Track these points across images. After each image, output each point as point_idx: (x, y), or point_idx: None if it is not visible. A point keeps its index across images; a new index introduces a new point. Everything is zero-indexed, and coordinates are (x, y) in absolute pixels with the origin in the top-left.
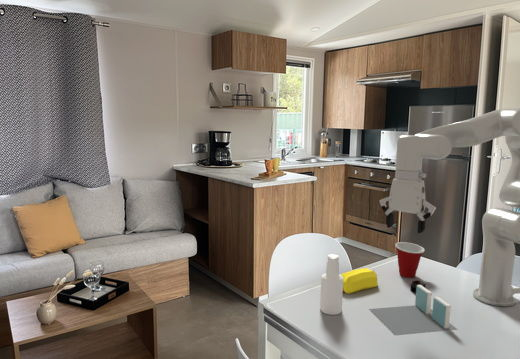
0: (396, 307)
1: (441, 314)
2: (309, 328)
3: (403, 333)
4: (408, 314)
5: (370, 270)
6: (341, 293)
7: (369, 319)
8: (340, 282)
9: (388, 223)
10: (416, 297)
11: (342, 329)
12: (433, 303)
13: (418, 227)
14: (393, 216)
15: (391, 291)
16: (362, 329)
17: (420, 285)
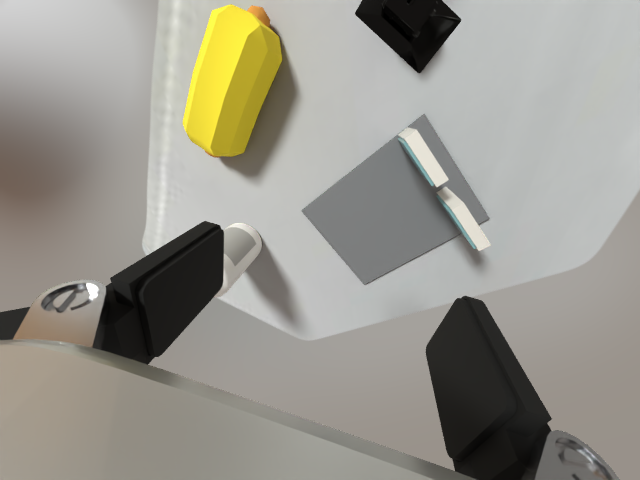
0: (353, 173)
1: (459, 229)
2: (246, 303)
3: (377, 275)
4: (382, 197)
5: (235, 30)
6: (244, 265)
7: (313, 245)
8: (230, 285)
9: (199, 308)
10: (401, 143)
11: (286, 290)
12: (446, 208)
13: (439, 395)
14: (162, 272)
15: (325, 56)
16: (312, 280)
17: (416, 136)
